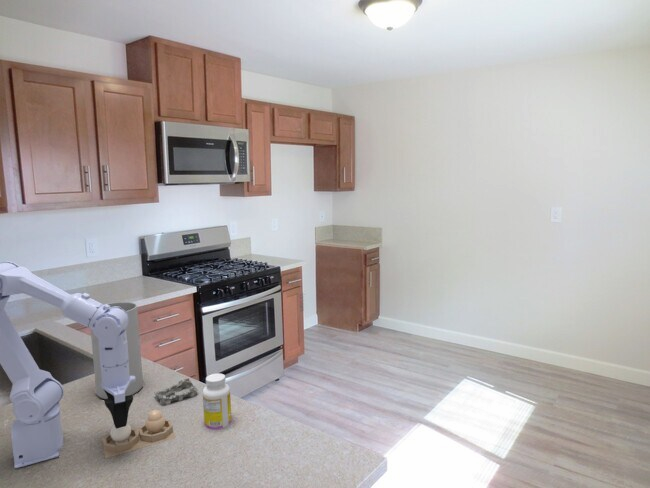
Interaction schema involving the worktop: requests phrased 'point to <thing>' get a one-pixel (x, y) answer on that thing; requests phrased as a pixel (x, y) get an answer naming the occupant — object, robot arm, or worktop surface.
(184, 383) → the egg carton
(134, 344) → the cylinder vase
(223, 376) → the supplement bottle
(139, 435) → the egg tray
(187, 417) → the worktop surface
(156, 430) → the brown egg
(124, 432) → the cream egg
